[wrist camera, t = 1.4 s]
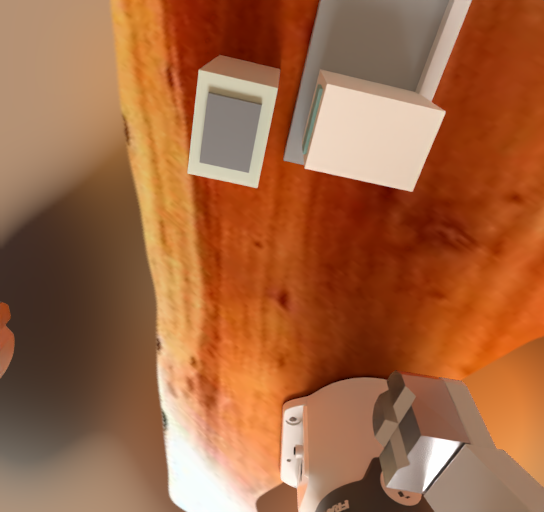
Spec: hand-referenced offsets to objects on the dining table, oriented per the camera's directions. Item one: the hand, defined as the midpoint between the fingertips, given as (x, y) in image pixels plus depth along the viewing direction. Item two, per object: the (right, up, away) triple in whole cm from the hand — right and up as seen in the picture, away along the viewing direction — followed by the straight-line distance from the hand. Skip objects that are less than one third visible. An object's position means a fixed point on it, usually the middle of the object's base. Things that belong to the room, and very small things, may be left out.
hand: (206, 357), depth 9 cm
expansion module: (-1, +14, +22) cm, 26 cm away
